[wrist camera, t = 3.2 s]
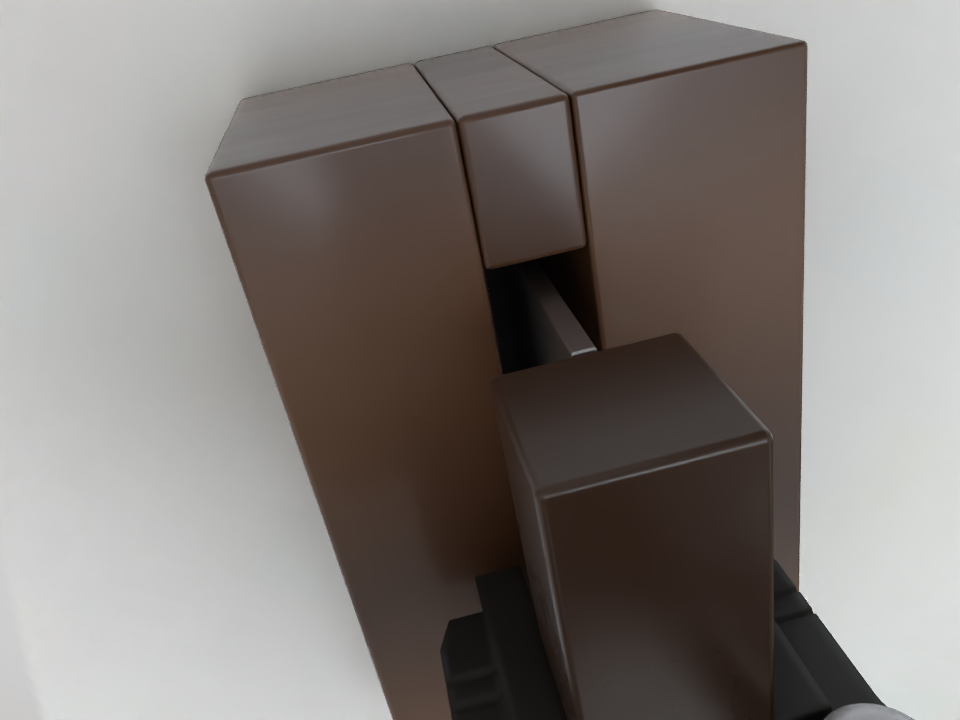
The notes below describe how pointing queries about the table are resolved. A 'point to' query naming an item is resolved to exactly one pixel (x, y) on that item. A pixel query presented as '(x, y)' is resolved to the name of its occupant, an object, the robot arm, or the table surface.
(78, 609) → the table surface
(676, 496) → the bar
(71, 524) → the table surface
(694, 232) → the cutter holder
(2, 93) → the table surface
